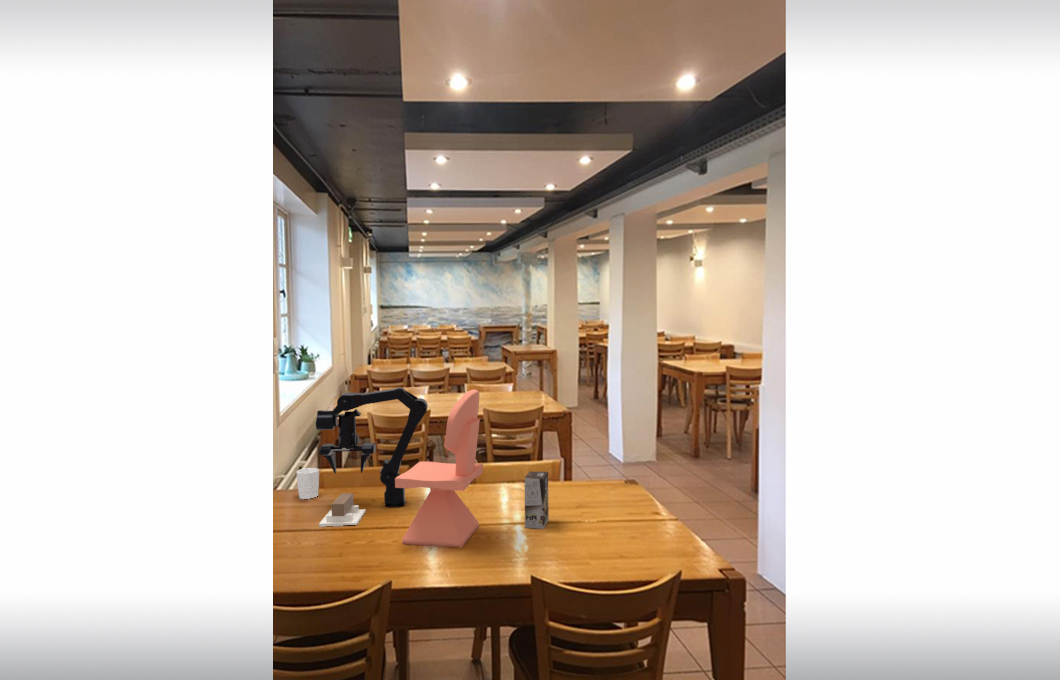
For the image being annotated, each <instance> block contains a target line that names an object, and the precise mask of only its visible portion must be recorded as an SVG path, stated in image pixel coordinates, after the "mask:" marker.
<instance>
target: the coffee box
mask: <svg viewBox="0 0 1060 680" xmlns="http://www.w3.org/2000/svg"><path fill="white" fill-rule="evenodd" d="M549 512H550V510H549V471H529V472H528V473H527V474H526V476H525V477H524V528H525V529H526V528H527V529H540V530H541V529H542V530H544V529H545V528H546V525H547V523H548V521H549V519H550V518H549V515H550V514H549Z"/></svg>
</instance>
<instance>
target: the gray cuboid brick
mask: <svg viewBox="0 0 1060 680" xmlns="http://www.w3.org/2000/svg"><path fill="white" fill-rule="evenodd" d="M353 505H354V493H351V492H350V493H348V492H347V493H343V492H342V493H340V494H339V495H338V497H337V498H335V499H334V500H333V502H332V503H331V510H332V516H345V515H346V513H347V512H348V511H349V510H350V508H351V507H352V506H353Z"/></svg>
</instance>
